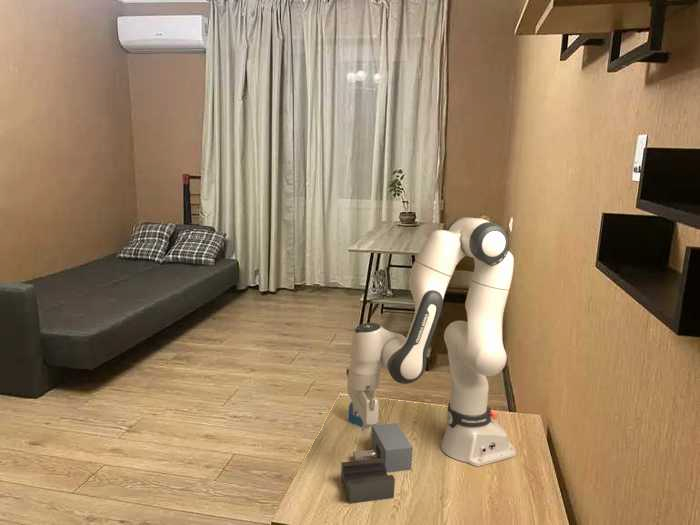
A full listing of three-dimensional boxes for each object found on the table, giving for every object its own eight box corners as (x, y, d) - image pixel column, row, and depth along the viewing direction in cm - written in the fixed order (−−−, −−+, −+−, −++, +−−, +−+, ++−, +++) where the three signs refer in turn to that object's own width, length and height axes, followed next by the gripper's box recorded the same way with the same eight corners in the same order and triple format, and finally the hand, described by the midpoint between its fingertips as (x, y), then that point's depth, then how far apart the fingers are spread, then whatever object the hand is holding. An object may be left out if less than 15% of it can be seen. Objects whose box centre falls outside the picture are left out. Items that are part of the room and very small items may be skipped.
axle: (391, 455, 158) (391, 445, 158) (395, 459, 155) (395, 449, 155) (353, 460, 155) (353, 450, 155) (355, 464, 152) (355, 453, 152)
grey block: (395, 443, 164) (396, 422, 162) (411, 469, 150) (412, 447, 149) (370, 445, 162) (371, 425, 160) (384, 472, 148) (385, 450, 147)
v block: (382, 475, 147) (383, 457, 146) (393, 497, 138) (394, 479, 137) (340, 480, 144) (341, 462, 143) (349, 503, 135) (350, 484, 134)
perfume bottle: (348, 422, 175) (349, 389, 173) (358, 415, 180) (360, 382, 178) (363, 428, 172) (365, 394, 169) (373, 420, 177) (375, 388, 174)
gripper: (385, 395, 139) (381, 442, 142) (365, 365, 159) (362, 407, 162) (363, 396, 138) (359, 444, 141) (345, 365, 157) (342, 408, 160)
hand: (360, 424), depth 151 cm, fingers open, 8 cm apart
